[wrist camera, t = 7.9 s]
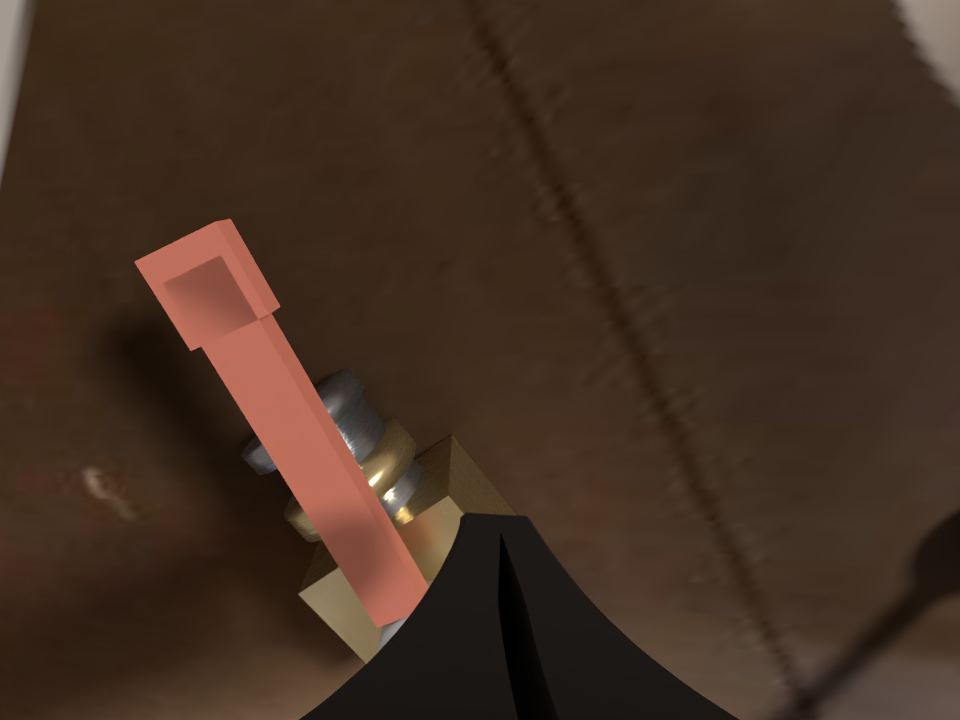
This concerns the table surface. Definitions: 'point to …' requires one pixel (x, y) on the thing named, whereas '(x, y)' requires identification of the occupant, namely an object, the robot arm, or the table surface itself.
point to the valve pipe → (386, 503)
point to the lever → (284, 411)
